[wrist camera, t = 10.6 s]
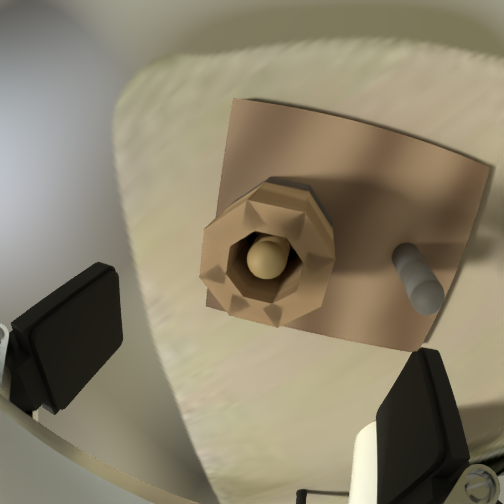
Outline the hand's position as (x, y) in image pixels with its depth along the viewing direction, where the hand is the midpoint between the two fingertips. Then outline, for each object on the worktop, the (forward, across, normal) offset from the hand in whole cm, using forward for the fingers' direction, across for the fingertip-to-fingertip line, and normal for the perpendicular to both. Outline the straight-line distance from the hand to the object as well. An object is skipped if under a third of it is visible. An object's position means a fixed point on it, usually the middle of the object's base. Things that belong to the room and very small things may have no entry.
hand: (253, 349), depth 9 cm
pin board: (+12, -3, 0) cm, 13 cm away
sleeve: (+11, +1, 0) cm, 11 cm away
